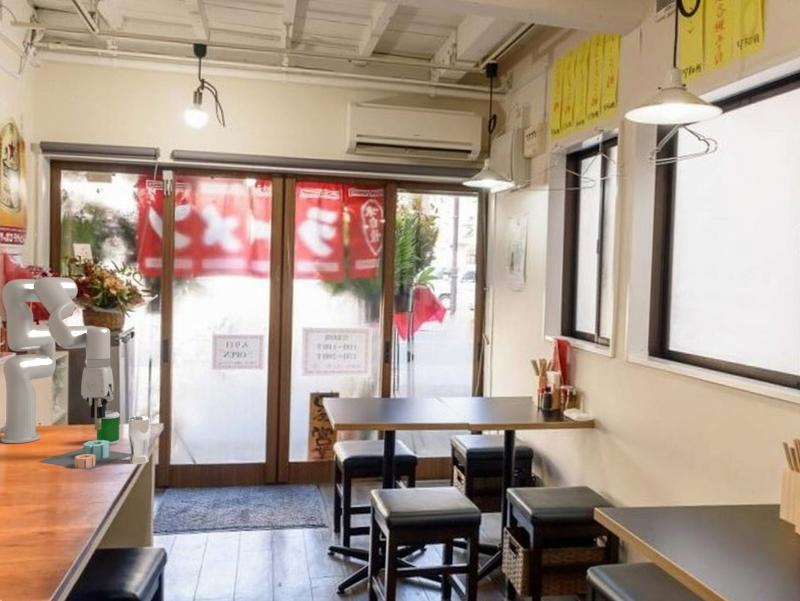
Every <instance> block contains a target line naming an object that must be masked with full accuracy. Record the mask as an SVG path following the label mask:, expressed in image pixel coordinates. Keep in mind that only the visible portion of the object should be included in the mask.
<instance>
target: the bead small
mask: <svg viewBox="0 0 800 601" xmlns="http://www.w3.org/2000/svg"><path fill="white" fill-rule="evenodd" d="M95 462H96V455H94V454H86V455H85V454H82V455H78V456H76V457H75V467H76V468H75V469H80V468H89V467H93V466H95Z"/></svg>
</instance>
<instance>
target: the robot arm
mask: <svg viewBox="0 0 800 601" xmlns="http://www.w3.org/2000/svg"><path fill="white" fill-rule="evenodd" d="M1 295H2V296H1V297H2V302H3V306H4V309H5V313H6V335H7V346H8V347H9V349H10V350H11V351H14V352H28V351H29V352H30V351H35V352H36V353H29V354H28V353H27V354H26V353H25V354H17V355H13V356H10V357H8V358H7V359H5V361H4V363H3V373H4V379H5V387H6V389H5V392H6V393H5V394H6V395H5V396H6V398H5V399H6V401H5V402H6V404H5V405H6V406H5V409H6V410H5V415H6V416H5V425H4V426H3V428H0V433H3V436H1V438H0V442H1V443H4V444H22V443H30V442H35V441H37V440H39V439H40V438H41V433H37V432H36V431H37V430H36V425H37V424H36V423H37V417H36V416H37V414H36V413H37V412H36V410H37V392H36V391H37V390H36V387H34V385H33V384H32V382H31V381H30V380H38V379H45V378H49V377H51V376H53V375H54V374H55V371H56V367H57V363H56V362H57V361H56V360H57V357H56V355H57V354H56V352H57V351H56V344H57V345H58V346H59V347H60V348H62V349H65V350H70V349H71V350H73V349H85V360H84V364H85V367H83V370H82V376H81V388H80V394H81V396H82V399H84V400H86V401H87V402H88V405H89V407H90V418H91V419H95V398H98V406H99V407H97V418H98V419H99V418H103V417H105V411H106V407H107V405H108V403H109V402H112V401H114V399H115V398H114V389H115V388H114V376H113V370H112V367H111V330H110V329H109V328H108V327H105V326H104V327H103V326H95V325H77V326H76V325H75V326H68V325H67V324H65V322H64V321H63V320H66V319H67V318H69V317H70V316H71V315H72V314H73V313H74V312H75V310H76V304H75V302H74V299H75V298H76V297H77V295H78V286H77V283H76V282H75V281H74V280H73V279H72V278H70V277H59V276H58V277H57V276H55V277H54V276H49V277H48V276H45V277H41V278H39V279H37V278H36V279H35V278H34V279H33V278H19V279H12V280H9V281H8V282H7V283H6V284H5V285H4V287H3V289H2V294H1ZM27 303H41V304H42V306H43V307H44V308H45V309H46V311H47V312H48V313H49V318H48V322H47V325H46V324H34V314H33V311H32V309H31V308H30V306H29V305H28V304H27Z"/></svg>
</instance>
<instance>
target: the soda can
mask: <svg viewBox="0 0 800 601" xmlns="http://www.w3.org/2000/svg"><path fill="white" fill-rule="evenodd" d="M120 415H121V414H120V412H118V411H117V410H112V409H111V410H105V417H103V418H101V429H100V430H96V440H100V441H101V440H106V441H109V442H110V446H113V445H116V444H118V443H119V442H120V419H121V418H120Z"/></svg>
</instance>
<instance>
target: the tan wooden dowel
mask: <svg viewBox="0 0 800 601" xmlns="http://www.w3.org/2000/svg"><path fill="white" fill-rule="evenodd" d="M97 407H99V406H98V398H95V418H94V430H95V431H97V430H100V429H101V418H99V419H98V418H97Z"/></svg>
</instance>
